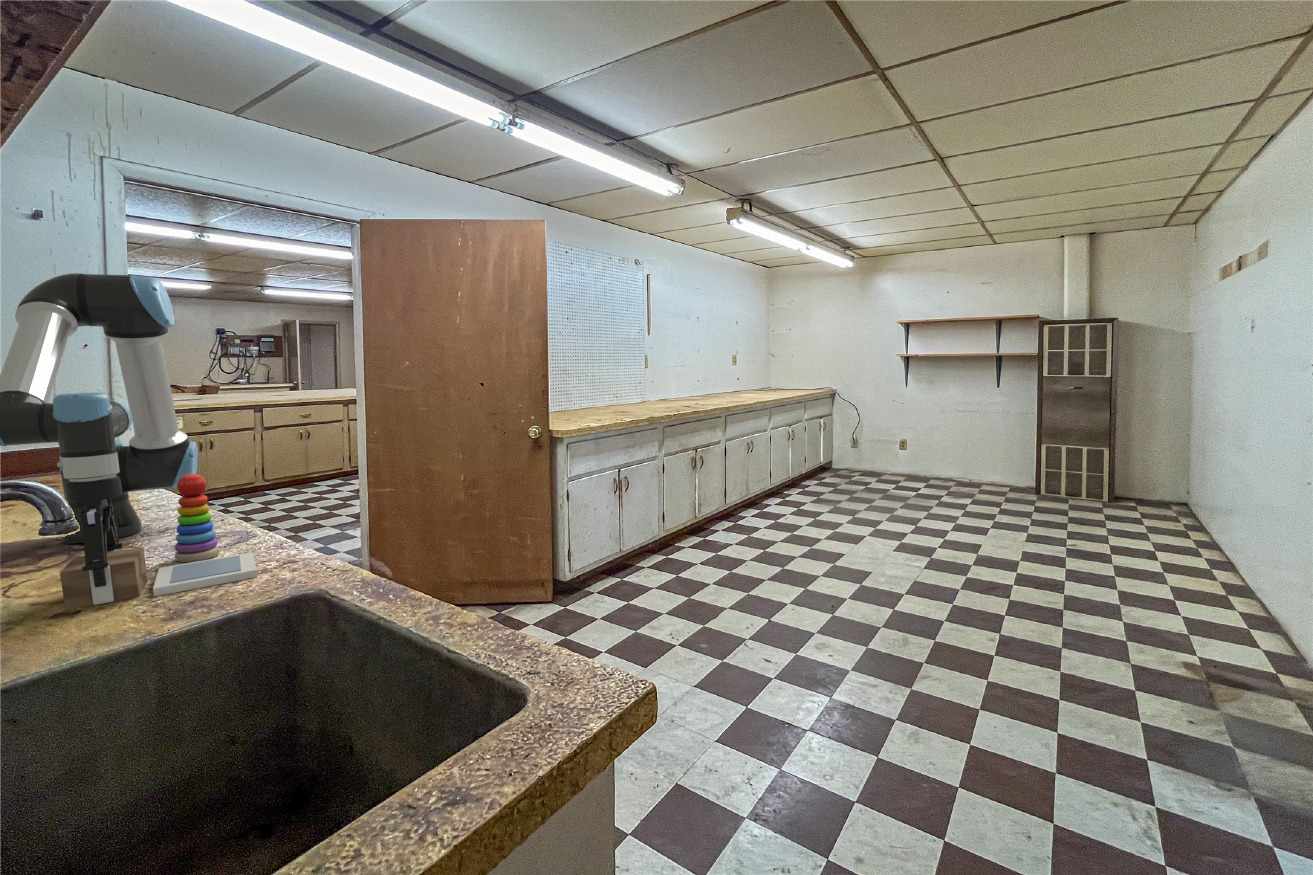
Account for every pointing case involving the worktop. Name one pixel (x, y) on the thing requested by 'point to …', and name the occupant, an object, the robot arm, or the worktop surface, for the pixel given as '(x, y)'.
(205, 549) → the stacking toy
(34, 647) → the worktop surface
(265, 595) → the worktop surface
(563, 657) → the worktop surface
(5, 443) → the robot arm
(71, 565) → the walnut block
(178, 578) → the baseplate
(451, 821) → the worktop surface
